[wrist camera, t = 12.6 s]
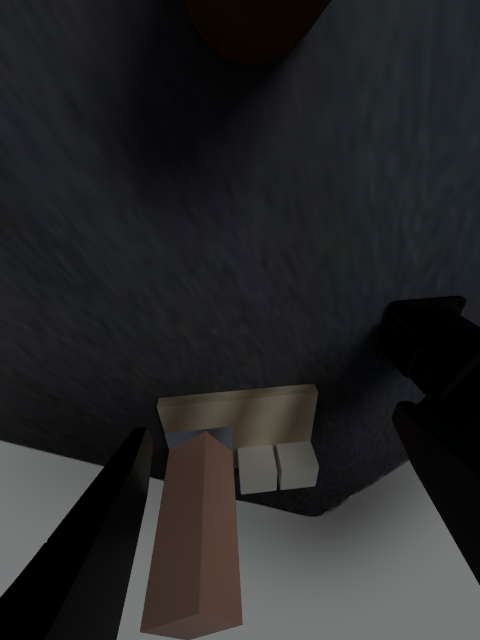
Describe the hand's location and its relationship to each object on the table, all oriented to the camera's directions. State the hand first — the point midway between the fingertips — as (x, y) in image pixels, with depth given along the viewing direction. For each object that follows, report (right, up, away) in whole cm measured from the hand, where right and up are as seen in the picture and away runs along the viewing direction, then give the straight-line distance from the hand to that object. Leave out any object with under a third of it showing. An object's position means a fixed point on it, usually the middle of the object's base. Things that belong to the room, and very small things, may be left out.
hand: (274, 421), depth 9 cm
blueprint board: (-1, -9, +20) cm, 22 cm away
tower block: (-6, -11, +20) cm, 23 cm away
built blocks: (+3, -12, +22) cm, 25 cm away
